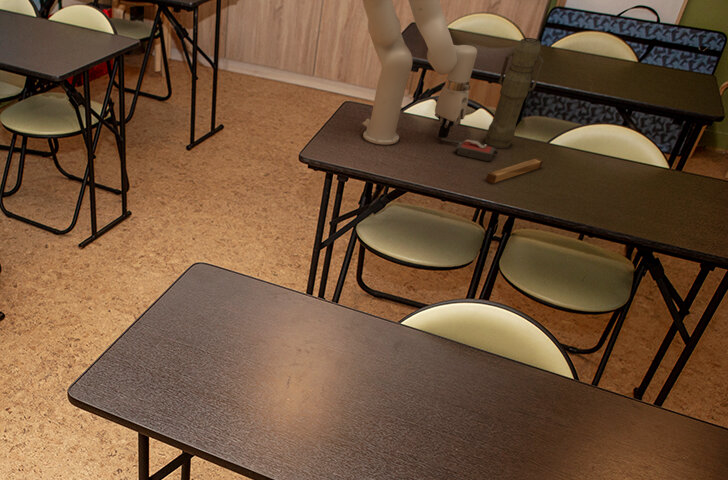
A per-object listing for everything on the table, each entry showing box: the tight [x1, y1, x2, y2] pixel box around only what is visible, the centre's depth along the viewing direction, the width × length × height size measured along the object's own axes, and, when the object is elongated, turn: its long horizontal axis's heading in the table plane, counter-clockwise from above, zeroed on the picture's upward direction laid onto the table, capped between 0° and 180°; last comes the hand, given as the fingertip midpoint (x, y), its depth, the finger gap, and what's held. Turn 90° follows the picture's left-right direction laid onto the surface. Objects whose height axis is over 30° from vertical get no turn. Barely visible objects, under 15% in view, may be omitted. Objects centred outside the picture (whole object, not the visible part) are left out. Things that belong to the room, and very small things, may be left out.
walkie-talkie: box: [440, 137, 499, 162], centre depth 238 cm, size 9×4×20 cm
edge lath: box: [485, 157, 544, 184], centre depth 226 cm, size 3×24×3 cm, turn 122°
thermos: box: [484, 37, 544, 149], centre depth 234 cm, size 9×12×35 cm
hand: (442, 136), depth 246 cm, fingers closed
